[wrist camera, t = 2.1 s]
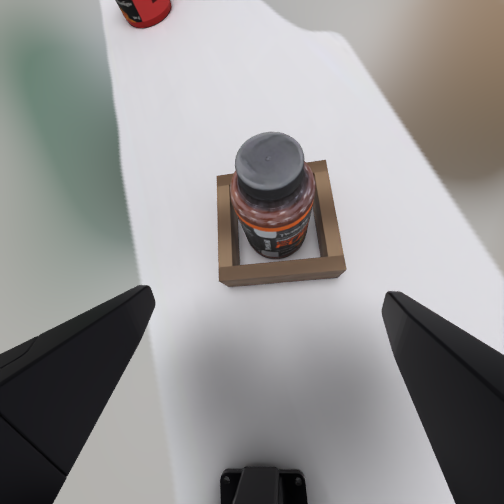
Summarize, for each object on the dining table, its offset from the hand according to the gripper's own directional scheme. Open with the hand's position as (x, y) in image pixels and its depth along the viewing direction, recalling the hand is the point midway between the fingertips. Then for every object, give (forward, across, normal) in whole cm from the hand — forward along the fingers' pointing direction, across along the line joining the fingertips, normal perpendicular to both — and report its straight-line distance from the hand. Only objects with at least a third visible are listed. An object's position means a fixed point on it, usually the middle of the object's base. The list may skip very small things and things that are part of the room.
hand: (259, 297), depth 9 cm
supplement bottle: (+15, 0, +4) cm, 16 cm away
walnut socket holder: (+15, 0, +4) cm, 15 cm away
